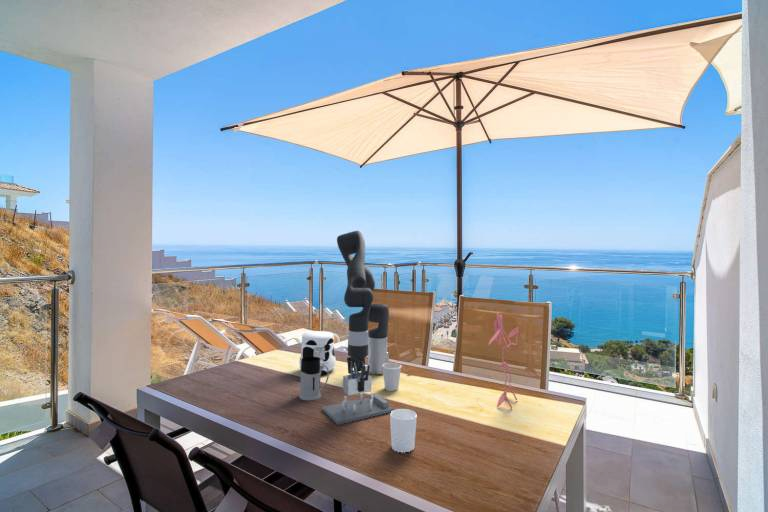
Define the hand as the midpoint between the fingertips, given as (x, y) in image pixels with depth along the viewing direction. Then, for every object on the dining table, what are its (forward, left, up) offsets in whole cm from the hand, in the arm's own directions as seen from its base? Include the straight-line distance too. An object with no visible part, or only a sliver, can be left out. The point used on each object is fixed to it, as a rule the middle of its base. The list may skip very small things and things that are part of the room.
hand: (357, 388), depth 140 cm
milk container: (-4, -52, -8) cm, 53 cm away
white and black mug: (+9, -20, -8) cm, 23 cm away
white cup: (0, +30, -8) cm, 31 cm away
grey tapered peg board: (0, 0, -8) cm, 8 cm away
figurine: (-52, +18, -8) cm, 56 cm away
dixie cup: (-23, -14, -8) cm, 28 cm away
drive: (0, 0, -1) cm, 1 cm away
